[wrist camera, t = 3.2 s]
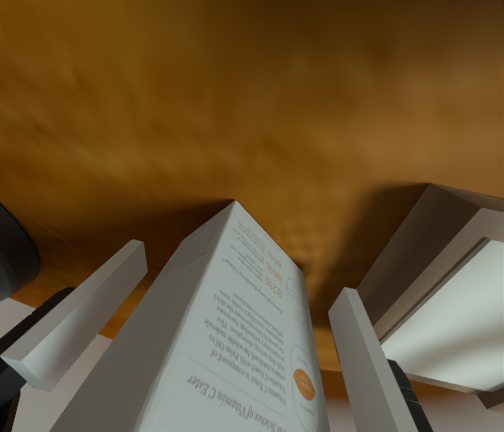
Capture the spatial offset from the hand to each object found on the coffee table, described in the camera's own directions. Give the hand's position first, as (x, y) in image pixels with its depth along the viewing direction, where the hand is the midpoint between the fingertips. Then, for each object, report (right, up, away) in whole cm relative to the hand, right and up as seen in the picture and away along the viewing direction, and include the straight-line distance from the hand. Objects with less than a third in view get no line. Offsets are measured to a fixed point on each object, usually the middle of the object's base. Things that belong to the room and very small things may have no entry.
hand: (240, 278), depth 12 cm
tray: (+15, -1, +1) cm, 15 cm away
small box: (0, +1, +2) cm, 2 cm away
